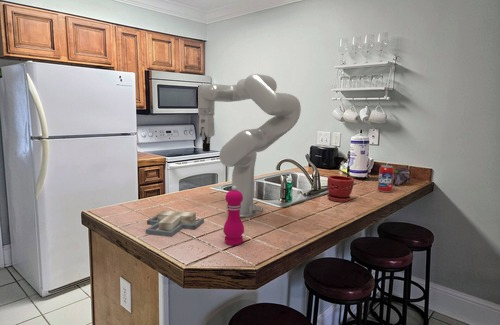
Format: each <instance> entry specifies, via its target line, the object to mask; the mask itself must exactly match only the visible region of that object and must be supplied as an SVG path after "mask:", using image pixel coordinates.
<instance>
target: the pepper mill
mask: <svg viewBox="0 0 500 325" xmlns="http://www.w3.org/2000/svg"><path fill="white" fill-rule="evenodd" d="M224 200H225V201H226V209H227V211H228V212H227V213H228V214H227V218H226V221H225V222H224V224H223V228H222V230H223V233H224V235H225V236H224V243H225V244H226V245H228V246H239V245H242V243H243V241H244V240H243V239H244V237H243V234H244V233H245V226H244V223H243V221H242V219H241V218H242V217H240V209H241V204H240V203H241V202H242V200H243V195H242V193H241V192H240V191H237V187H236V186H233V187H232V186H231V190H229V191H227V193H226V194H225V199H224Z"/></svg>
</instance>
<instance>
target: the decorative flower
mask: <svg viewBox="0 0 500 325" xmlns="http://www.w3.org/2000/svg"><path fill="white" fill-rule="evenodd" d="M411 172H412V171H411V170H410V169H409V168H405V167H400V168H395V169H394V176H393V186H394V187H399V186H400V185H402V186H403V185H405V184H406V183H407V181H411V176H410V175H412V173H411Z"/></svg>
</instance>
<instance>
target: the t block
mask: <svg viewBox="0 0 500 325" xmlns="http://www.w3.org/2000/svg"><path fill="white" fill-rule="evenodd" d="M196 214H197V213H196V212H188V211H173V210H162V211H161V212H159V213H157V215H158V220H157V221H160V222H159V228H158V230H163V231H171V230H172V229H174V228H175V227H177V226H178V225H179V224H181V223H183V224H192V225H193V224H194V223H196V222H197V221H196V220H197V219H196V218H197V215H196Z"/></svg>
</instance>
